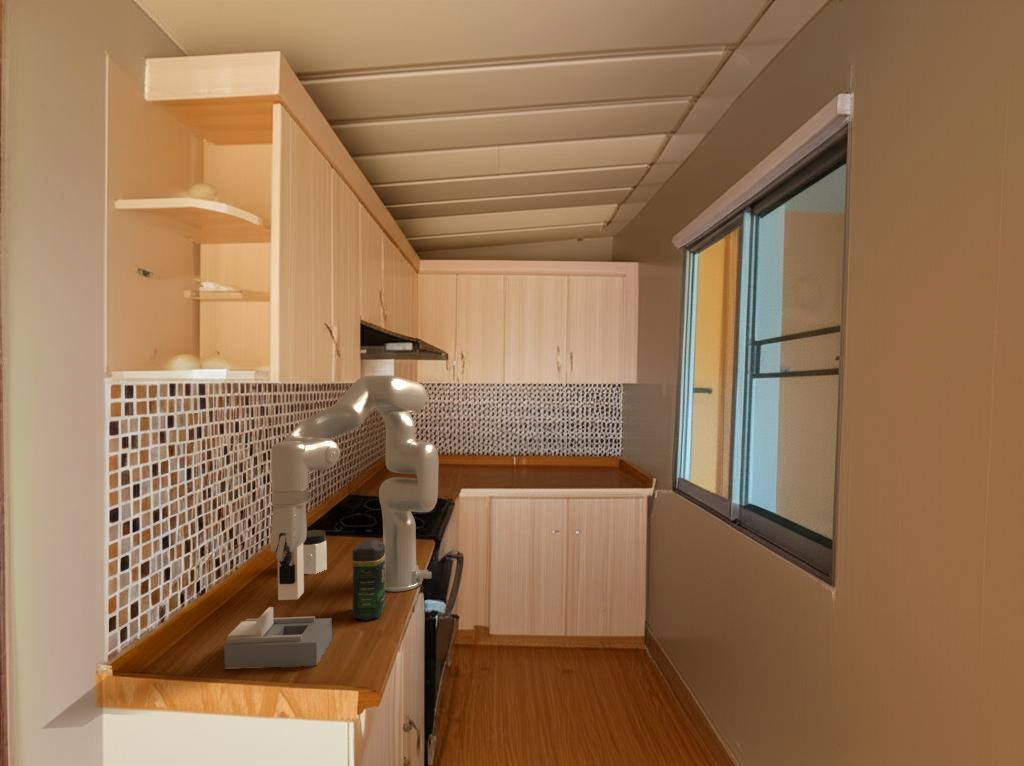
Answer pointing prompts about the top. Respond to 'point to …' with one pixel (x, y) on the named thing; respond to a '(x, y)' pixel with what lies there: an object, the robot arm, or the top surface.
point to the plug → (298, 587)
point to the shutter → (254, 626)
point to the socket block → (282, 644)
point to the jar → (315, 552)
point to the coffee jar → (368, 579)
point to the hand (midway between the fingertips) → (291, 578)
